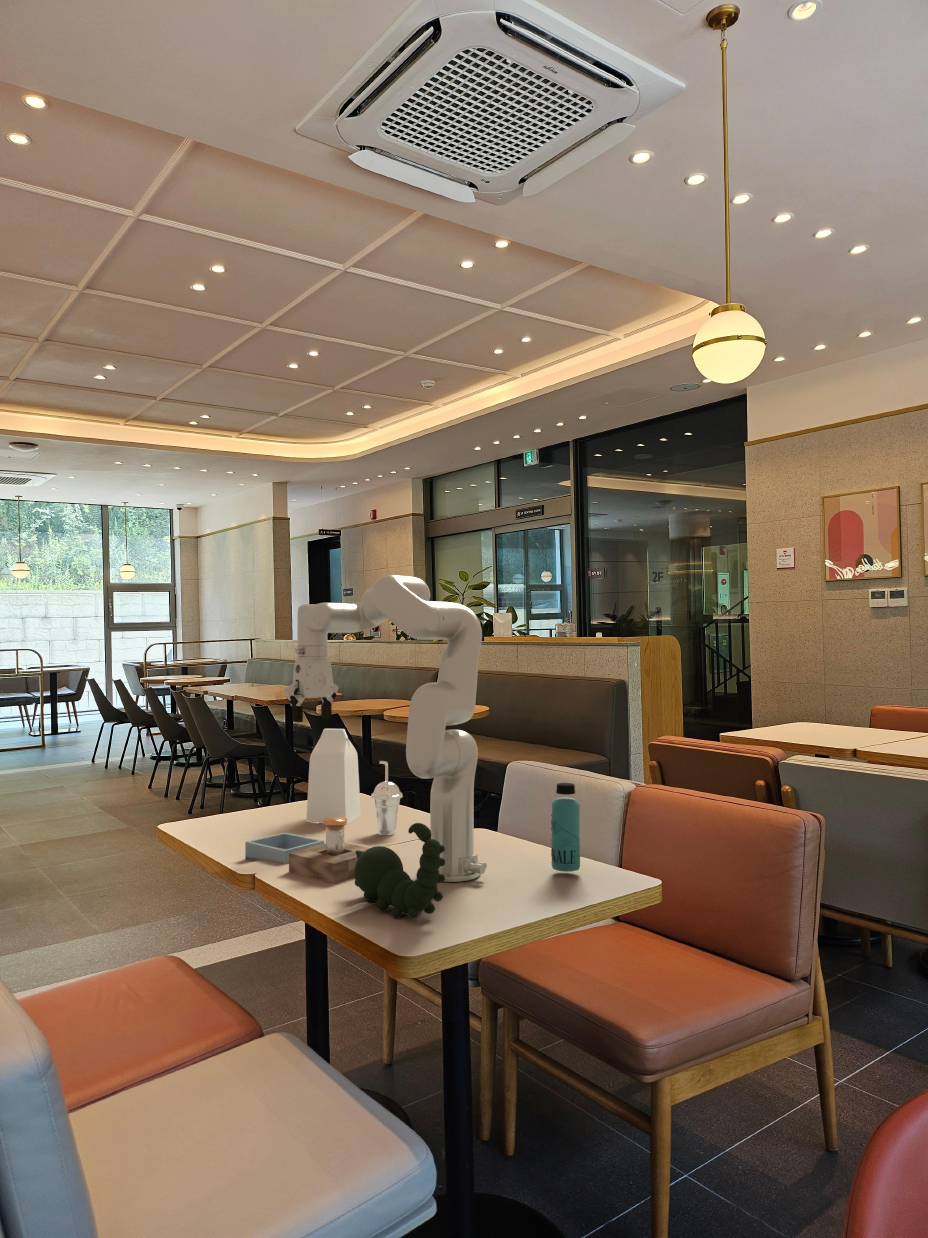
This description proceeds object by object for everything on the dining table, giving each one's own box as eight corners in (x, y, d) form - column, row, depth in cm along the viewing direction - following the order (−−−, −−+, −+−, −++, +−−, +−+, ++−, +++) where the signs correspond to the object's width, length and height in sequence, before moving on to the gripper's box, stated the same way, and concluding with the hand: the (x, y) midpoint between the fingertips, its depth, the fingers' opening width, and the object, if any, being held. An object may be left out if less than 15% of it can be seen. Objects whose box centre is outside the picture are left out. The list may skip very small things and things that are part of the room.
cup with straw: (409, 833, 220) (409, 758, 221) (382, 839, 214) (382, 761, 215) (389, 828, 226) (389, 755, 227) (362, 833, 220) (362, 758, 221)
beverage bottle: (571, 869, 185) (571, 780, 186) (586, 877, 179) (586, 784, 180) (545, 872, 183) (545, 781, 184) (559, 880, 177) (559, 786, 177)
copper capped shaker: (351, 869, 181) (352, 819, 182) (334, 874, 177) (334, 823, 177) (335, 865, 184) (335, 816, 185) (317, 870, 180) (318, 820, 181)
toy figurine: (453, 929, 152) (372, 887, 170) (459, 827, 151) (377, 796, 170) (413, 941, 146) (334, 896, 164) (419, 835, 145) (339, 802, 163)
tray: (324, 857, 196) (324, 840, 196) (284, 869, 186) (284, 851, 186) (284, 848, 204) (284, 832, 204) (245, 859, 195) (245, 842, 195)
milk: (306, 822, 234) (306, 730, 234) (322, 814, 245) (322, 726, 246) (345, 825, 231) (346, 731, 232) (360, 816, 242) (360, 727, 243)
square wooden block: (380, 874, 182) (380, 850, 182) (334, 889, 171) (334, 863, 171) (335, 863, 190) (335, 841, 191) (288, 877, 179) (288, 853, 179)
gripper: (296, 653, 201) (296, 724, 200) (347, 652, 214) (347, 718, 214) (276, 653, 205) (275, 722, 205) (327, 652, 219) (327, 717, 219)
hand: (312, 720), depth 209 cm, fingers open, 9 cm apart
